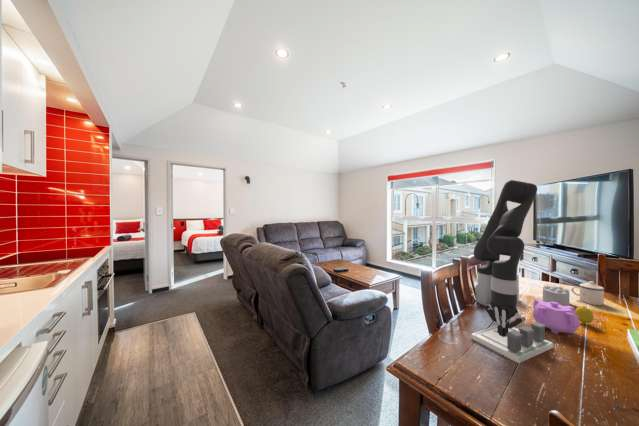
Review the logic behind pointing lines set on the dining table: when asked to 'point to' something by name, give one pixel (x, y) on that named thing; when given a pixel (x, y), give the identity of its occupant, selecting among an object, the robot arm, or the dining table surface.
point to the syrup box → (517, 287)
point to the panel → (500, 344)
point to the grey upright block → (514, 341)
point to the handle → (538, 331)
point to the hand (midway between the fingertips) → (502, 335)
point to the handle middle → (526, 336)
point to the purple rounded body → (556, 316)
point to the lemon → (584, 315)
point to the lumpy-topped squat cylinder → (556, 295)
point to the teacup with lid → (591, 293)
